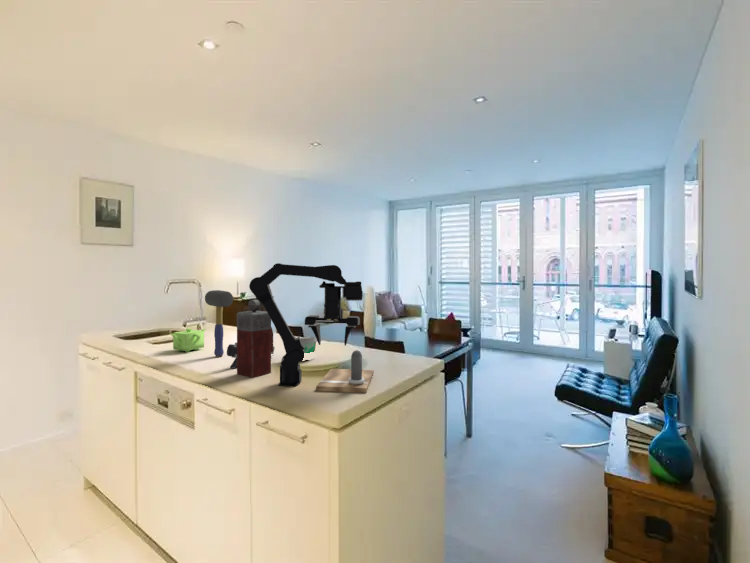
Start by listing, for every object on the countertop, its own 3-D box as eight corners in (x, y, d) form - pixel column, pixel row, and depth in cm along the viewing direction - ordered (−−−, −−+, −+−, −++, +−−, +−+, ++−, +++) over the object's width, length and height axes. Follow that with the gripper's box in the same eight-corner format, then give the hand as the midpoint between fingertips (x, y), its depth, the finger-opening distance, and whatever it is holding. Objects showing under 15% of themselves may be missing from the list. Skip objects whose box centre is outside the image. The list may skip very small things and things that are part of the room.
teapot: (169, 354, 180) (169, 331, 180) (172, 349, 192) (172, 327, 192) (205, 352, 186) (205, 329, 185) (206, 346, 198) (206, 326, 198)
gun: (222, 367, 152) (226, 341, 153) (267, 368, 173) (271, 345, 175) (226, 368, 151) (231, 342, 152) (272, 369, 172) (275, 346, 174)
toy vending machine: (275, 371, 151) (276, 299, 150) (252, 377, 141) (252, 300, 141) (260, 368, 156) (260, 298, 155) (236, 374, 146) (236, 299, 146)
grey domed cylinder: (345, 382, 130) (345, 350, 130) (354, 379, 135) (354, 348, 134) (358, 385, 127) (358, 352, 127) (367, 381, 132) (367, 350, 132)
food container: (290, 362, 166) (290, 339, 165) (289, 359, 171) (289, 336, 171) (319, 361, 169) (319, 338, 169) (317, 358, 175) (317, 335, 175)
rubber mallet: (234, 356, 176) (234, 290, 175) (219, 359, 169) (219, 291, 169) (218, 353, 183) (218, 289, 182) (203, 356, 177) (203, 290, 176)
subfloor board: (316, 390, 127) (316, 385, 127) (331, 372, 150) (331, 368, 150) (366, 392, 125) (366, 387, 125) (373, 374, 148) (373, 369, 148)
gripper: (362, 299, 144) (361, 341, 144) (312, 298, 146) (312, 340, 146) (357, 301, 133) (357, 347, 133) (304, 301, 135) (304, 346, 135)
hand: (332, 345), depth 137 cm, fingers open, 9 cm apart
